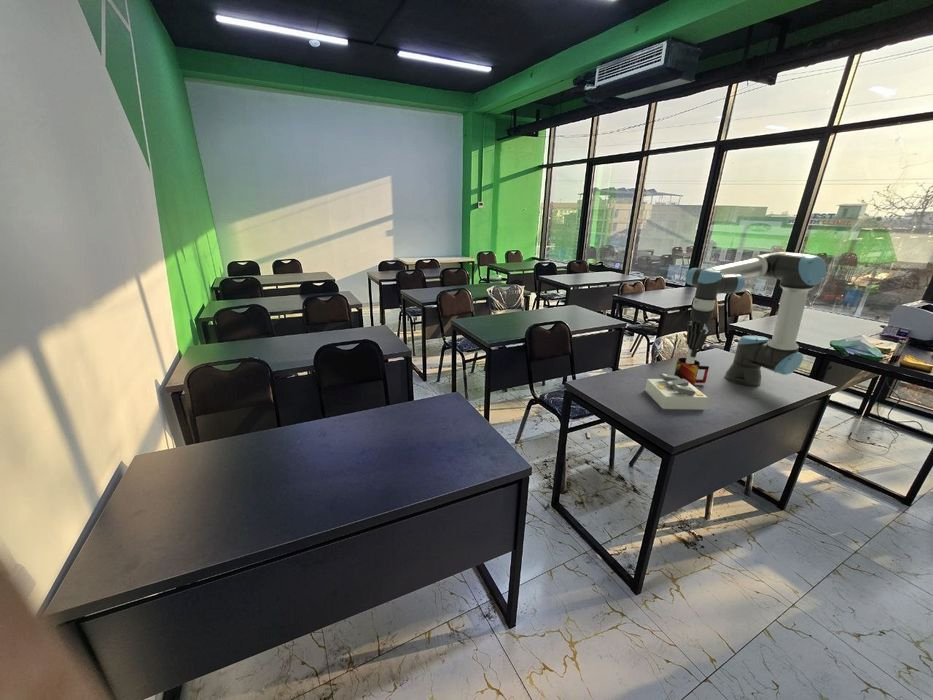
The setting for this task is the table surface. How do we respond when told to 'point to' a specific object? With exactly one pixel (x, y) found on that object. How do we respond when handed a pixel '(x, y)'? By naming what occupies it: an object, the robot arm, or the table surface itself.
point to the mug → (690, 371)
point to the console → (674, 396)
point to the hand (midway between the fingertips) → (689, 363)
